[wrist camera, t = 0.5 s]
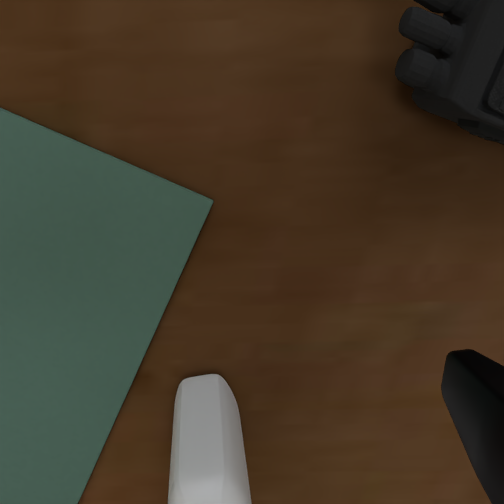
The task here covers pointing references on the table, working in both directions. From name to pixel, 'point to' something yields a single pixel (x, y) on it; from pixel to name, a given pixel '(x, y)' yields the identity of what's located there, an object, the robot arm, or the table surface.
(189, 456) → the eye dropper bottle
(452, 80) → the walkie-talkie
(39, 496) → the mat
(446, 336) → the table surface
